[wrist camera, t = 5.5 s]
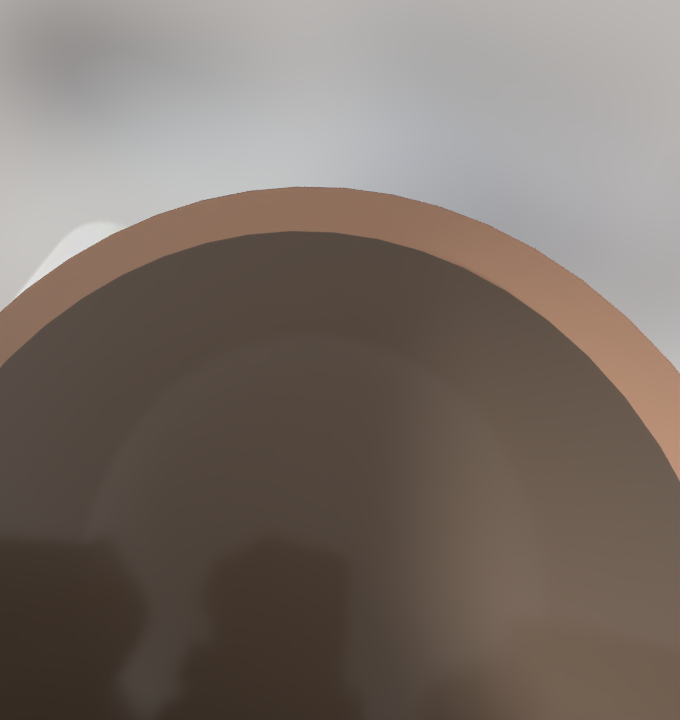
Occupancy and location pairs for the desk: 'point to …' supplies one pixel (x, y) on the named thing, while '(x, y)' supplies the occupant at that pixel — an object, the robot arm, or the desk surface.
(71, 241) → the desk surface
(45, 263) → the desk surface
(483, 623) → the terracotta pot
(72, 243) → the desk surface
